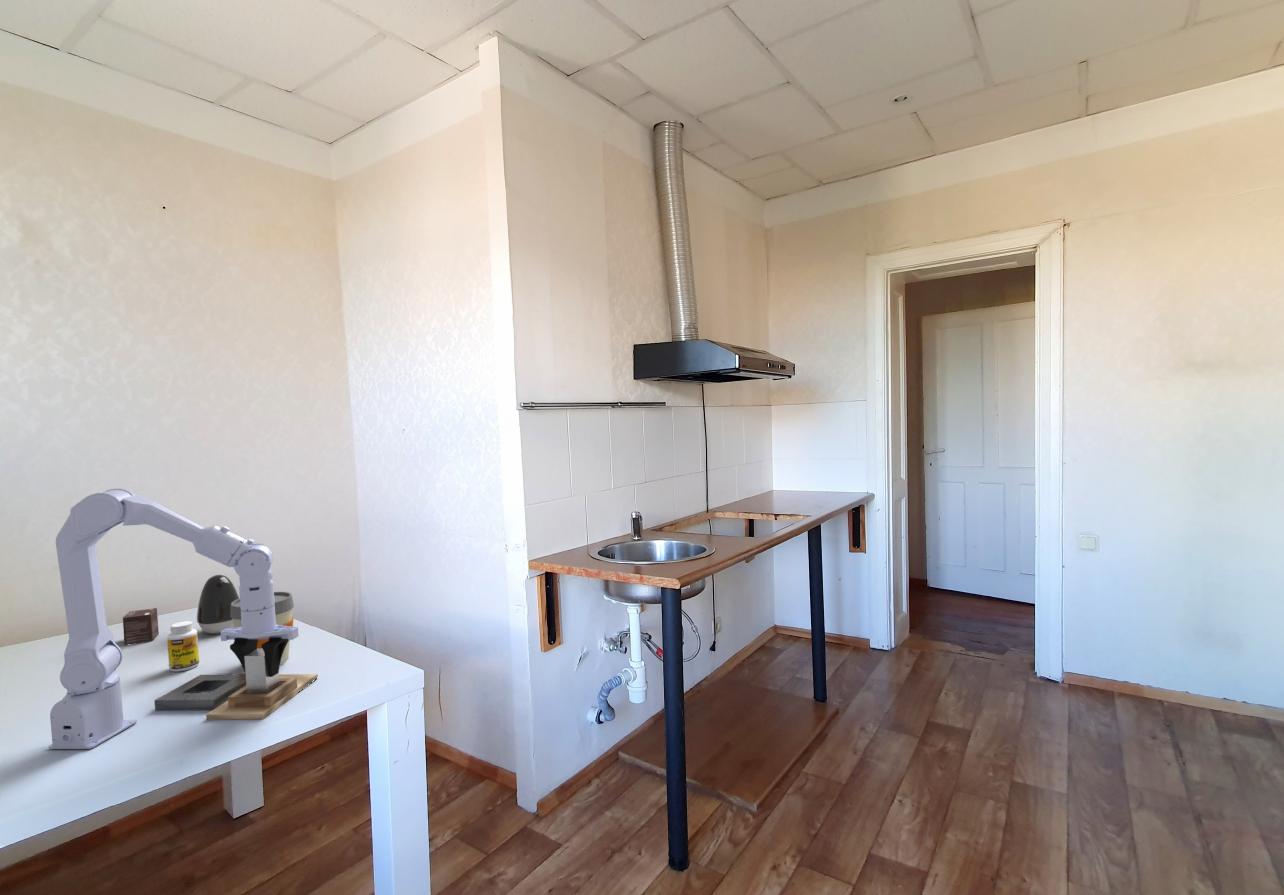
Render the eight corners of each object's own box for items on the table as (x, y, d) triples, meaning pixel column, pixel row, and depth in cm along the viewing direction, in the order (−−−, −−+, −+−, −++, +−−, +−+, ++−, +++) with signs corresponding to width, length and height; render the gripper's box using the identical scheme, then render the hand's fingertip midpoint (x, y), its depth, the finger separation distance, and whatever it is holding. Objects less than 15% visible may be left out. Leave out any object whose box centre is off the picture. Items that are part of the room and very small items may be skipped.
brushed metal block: (267, 696, 122) (264, 655, 122) (247, 696, 122) (244, 656, 122) (279, 687, 126) (277, 648, 126) (260, 687, 126) (258, 648, 126)
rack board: (263, 719, 117) (262, 703, 117) (206, 719, 118) (205, 703, 118) (317, 678, 135) (317, 664, 135) (268, 679, 136) (267, 665, 136)
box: (131, 638, 166) (129, 611, 165) (159, 634, 168) (157, 607, 168) (123, 645, 160) (121, 617, 160) (153, 641, 163) (150, 613, 162)
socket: (214, 709, 122) (213, 699, 122) (155, 710, 122) (154, 700, 122) (255, 683, 134) (254, 673, 134) (201, 683, 134) (200, 674, 134)
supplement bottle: (168, 674, 140) (165, 629, 140) (170, 666, 145) (167, 623, 144) (199, 668, 143) (195, 624, 143) (200, 661, 148) (196, 618, 147)
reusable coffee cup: (308, 658, 147) (304, 594, 146) (252, 678, 136) (248, 610, 136) (278, 649, 154) (274, 588, 153) (222, 668, 143) (218, 603, 142)
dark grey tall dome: (201, 640, 162) (197, 582, 161) (195, 631, 170) (191, 575, 169) (247, 630, 169) (243, 574, 168) (239, 621, 177) (235, 568, 176)
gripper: (305, 600, 127) (309, 666, 128) (236, 601, 128) (241, 667, 128) (283, 611, 120) (288, 680, 121) (210, 612, 121) (215, 681, 121)
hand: (262, 674), depth 124 cm, fingers closed on brushed metal block, 4 cm apart
